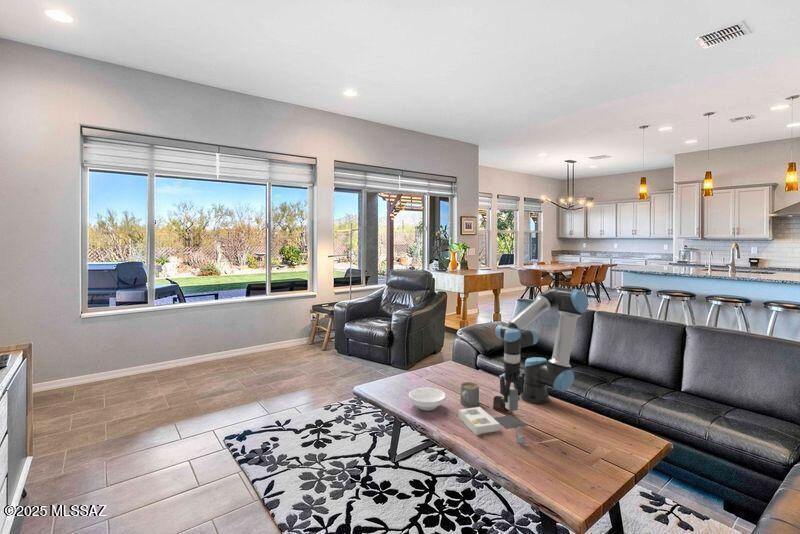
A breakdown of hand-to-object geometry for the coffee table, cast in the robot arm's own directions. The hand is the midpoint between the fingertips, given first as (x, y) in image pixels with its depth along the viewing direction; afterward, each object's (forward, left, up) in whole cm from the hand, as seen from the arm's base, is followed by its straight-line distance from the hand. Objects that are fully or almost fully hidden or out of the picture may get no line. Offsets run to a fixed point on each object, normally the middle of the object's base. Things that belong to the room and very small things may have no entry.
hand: (511, 407), depth 194 cm
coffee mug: (+11, -26, -8) cm, 29 cm away
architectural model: (+2, +18, -8) cm, 20 cm away
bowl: (+34, -28, -8) cm, 44 cm away
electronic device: (-3, -12, -8) cm, 15 cm away
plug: (0, 0, -1) cm, 1 cm away
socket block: (+17, -3, -8) cm, 19 cm away
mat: (+1, 0, -8) cm, 8 cm away
